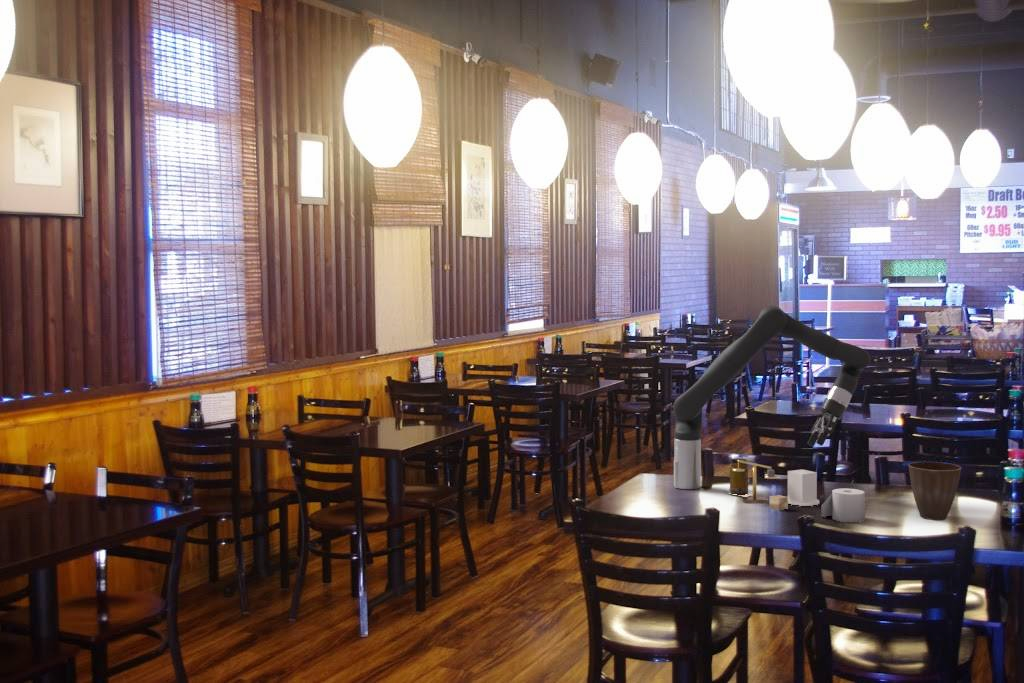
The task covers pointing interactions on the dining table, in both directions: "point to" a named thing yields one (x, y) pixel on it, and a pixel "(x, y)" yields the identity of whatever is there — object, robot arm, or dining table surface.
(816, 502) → the dish
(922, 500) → the plant pot
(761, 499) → the balance
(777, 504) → the block
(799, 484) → the white rectangular block
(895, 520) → the dining table surface
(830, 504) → the toilet tissue
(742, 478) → the condiment
